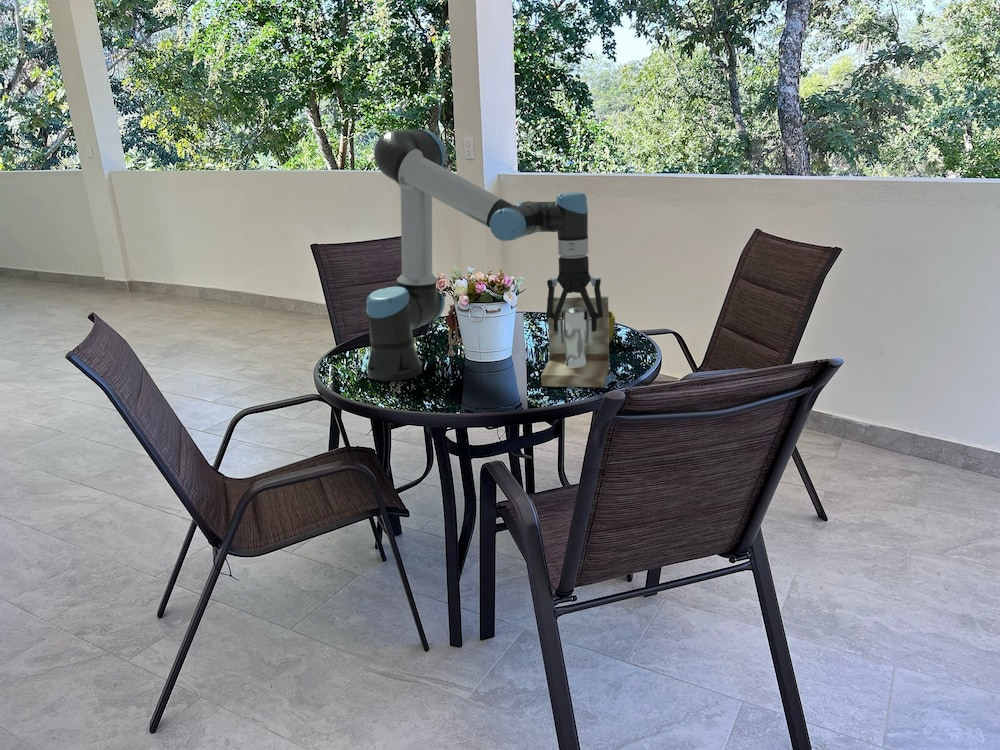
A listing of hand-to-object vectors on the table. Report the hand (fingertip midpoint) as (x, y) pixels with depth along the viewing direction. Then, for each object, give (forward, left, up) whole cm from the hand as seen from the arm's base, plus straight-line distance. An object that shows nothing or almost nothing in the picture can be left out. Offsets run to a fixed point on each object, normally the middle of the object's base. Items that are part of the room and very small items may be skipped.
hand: (575, 343), depth 199 cm
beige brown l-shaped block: (0, -2, -9) cm, 9 cm away
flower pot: (+3, +32, -9) cm, 34 cm away
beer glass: (0, 0, -6) cm, 6 cm away
